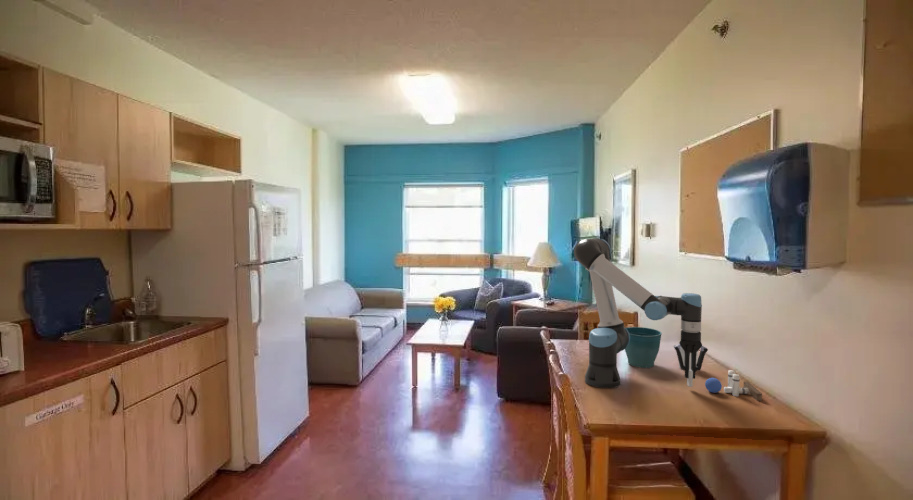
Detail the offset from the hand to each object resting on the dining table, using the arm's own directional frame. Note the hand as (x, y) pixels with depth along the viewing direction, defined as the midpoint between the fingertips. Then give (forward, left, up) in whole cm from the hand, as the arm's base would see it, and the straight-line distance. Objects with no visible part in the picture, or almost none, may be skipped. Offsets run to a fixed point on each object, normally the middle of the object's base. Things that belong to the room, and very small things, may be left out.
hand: (689, 385), depth 188 cm
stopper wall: (+23, 0, -2) cm, 24 cm away
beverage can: (+7, +30, -2) cm, 31 cm away
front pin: (+13, 0, -1) cm, 13 cm away
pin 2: (+16, -2, -2) cm, 17 cm away
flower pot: (-14, +32, -2) cm, 35 cm away
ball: (+9, -1, +1) cm, 9 cm away
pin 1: (+16, +2, -2) cm, 17 cm away
